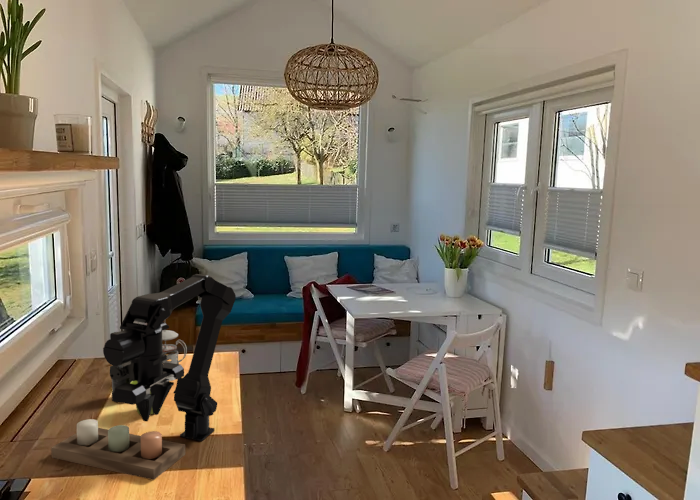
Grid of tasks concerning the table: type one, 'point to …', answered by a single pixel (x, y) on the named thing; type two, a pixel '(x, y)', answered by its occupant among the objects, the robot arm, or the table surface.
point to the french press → (171, 349)
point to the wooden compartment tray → (119, 455)
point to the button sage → (118, 438)
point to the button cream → (87, 432)
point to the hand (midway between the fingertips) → (150, 417)
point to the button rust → (151, 445)
